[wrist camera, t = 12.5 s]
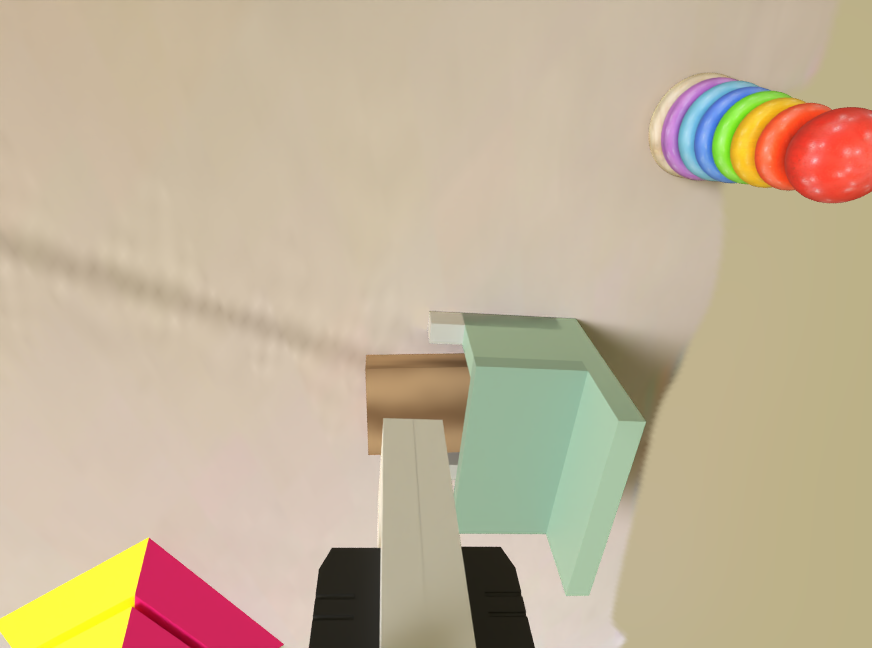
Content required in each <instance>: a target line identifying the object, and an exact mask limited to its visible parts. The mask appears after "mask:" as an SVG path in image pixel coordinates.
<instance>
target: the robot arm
mask: <svg viewBox="0 0 872 648" xmlns="http://www.w3.org/2000/svg"><path fill="white" fill-rule="evenodd" d="M309 648H535V646H534V642H533V638H532V634H531V630H530V626H529V622H528V618H527V617H526V610H525V606H524V601H523V597H522V596H521V589H520V585H519V581H518V577H517V573H516V569H515V567H514V565H513V564H512V562H511V561H510V560H509V558H508V557H507V555H506V554H505V552H504V551H503V550H502V548H501V547H461V542H460V535H459V529H458V522H457V515H456V508H455V501H454V495H453V488H452V481H451V474H450V468H449V461H448V454H447V447H446V440H445V434H444V427H443V420H429V419H395V418H383V432H382V447H381V462H380V478H379V493H378V531H377V548H332V549H331V550H330V552H329V554H328V555H327V557H326V559H325V560H324V562H323V564H322V565H321V567H320V569H319V574H318V581H317V589H316V599H315V605H314V613H313V621H312V628H311V636H310V644H309Z"/></svg>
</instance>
